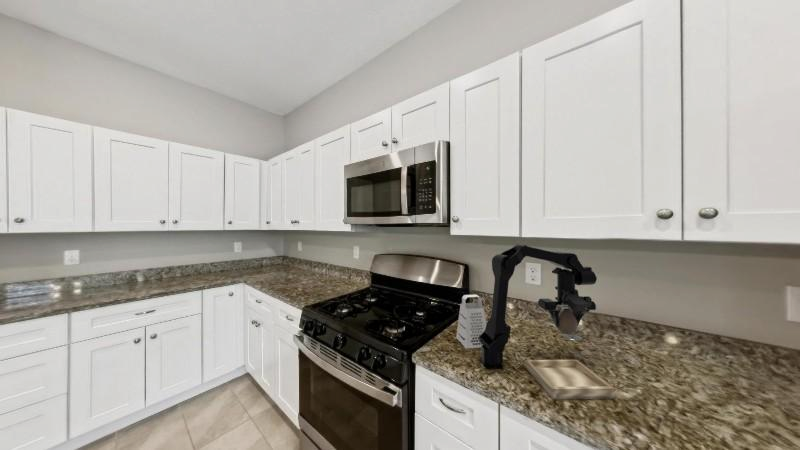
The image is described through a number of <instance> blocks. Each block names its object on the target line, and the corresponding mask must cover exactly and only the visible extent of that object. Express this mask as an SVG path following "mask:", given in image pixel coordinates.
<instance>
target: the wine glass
mask: <svg viewBox="0 0 800 450" xmlns="http://www.w3.org/2000/svg"><path fill="white" fill-rule="evenodd" d="M563 309H570V310H571V308H570V307H561V311H562V310H563ZM571 312H572V314H573V311H572V310H571ZM562 336H563V337H564V338H565V339H567V340H570V341H582V340H583V337H581V336H580V335H577V334H575V333H574V334H572V335H568V334H564V333H562Z"/></svg>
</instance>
